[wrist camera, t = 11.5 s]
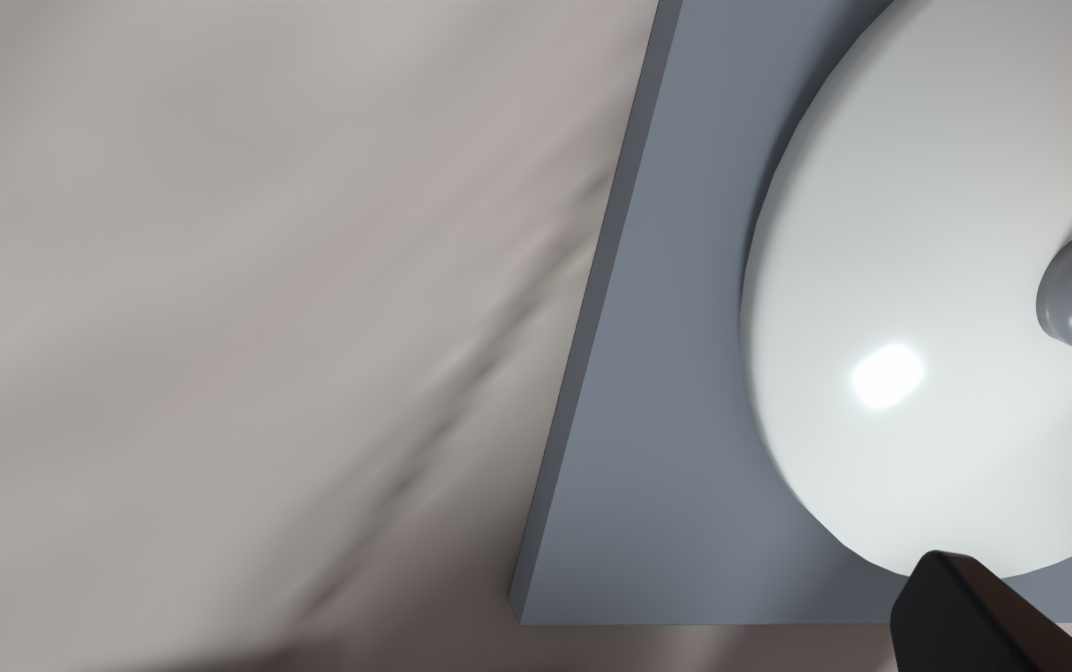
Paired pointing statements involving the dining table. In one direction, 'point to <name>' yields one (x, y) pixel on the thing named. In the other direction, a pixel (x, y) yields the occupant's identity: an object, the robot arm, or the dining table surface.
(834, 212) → the dial
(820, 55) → the board
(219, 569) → the dining table surface
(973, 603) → the robot arm
